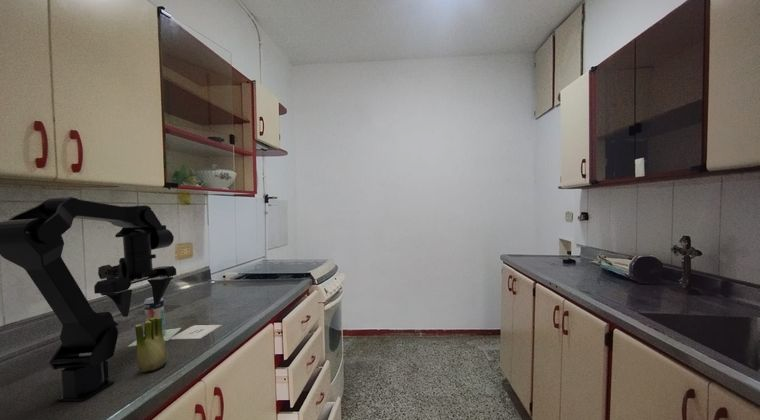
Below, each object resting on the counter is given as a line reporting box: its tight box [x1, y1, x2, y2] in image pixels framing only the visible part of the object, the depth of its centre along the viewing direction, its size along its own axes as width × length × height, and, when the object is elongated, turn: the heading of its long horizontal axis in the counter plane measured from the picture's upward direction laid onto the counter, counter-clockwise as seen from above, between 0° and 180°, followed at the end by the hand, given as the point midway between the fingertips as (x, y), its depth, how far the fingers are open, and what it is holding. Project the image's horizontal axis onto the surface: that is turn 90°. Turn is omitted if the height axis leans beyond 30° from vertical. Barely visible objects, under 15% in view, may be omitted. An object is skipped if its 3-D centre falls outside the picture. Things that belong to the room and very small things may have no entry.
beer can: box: [143, 296, 167, 335], centre depth 91 cm, size 5×5×12 cm
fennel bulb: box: [134, 317, 167, 373], centre depth 71 cm, size 6×5×12 cm
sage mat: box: [127, 327, 182, 348], centre depth 91 cm, size 10×10×1 cm
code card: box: [168, 324, 222, 341], centre depth 93 cm, size 10×10×1 cm
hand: (142, 310), depth 79 cm, fingers open, 9 cm apart
